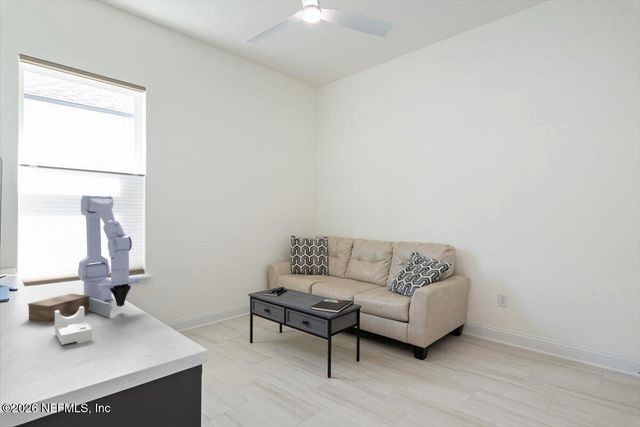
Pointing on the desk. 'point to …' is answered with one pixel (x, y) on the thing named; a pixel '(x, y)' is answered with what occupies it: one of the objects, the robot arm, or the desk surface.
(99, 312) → the door
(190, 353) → the desk surface
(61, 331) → the bracket
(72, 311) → the cabinet
